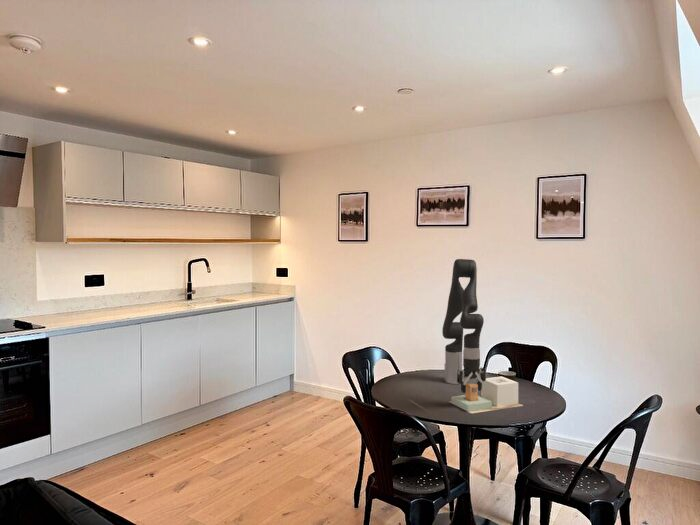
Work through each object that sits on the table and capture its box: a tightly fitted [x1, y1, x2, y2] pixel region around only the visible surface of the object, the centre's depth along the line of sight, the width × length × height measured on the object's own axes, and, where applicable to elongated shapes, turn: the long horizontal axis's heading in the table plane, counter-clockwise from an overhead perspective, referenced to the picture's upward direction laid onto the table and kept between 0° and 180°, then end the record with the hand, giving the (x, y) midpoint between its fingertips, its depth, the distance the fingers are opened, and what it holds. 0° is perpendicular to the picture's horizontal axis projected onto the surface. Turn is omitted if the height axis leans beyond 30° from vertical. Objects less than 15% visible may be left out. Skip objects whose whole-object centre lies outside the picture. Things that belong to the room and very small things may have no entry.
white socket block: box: [480, 376, 519, 407], centre depth 229 cm, size 12×12×10 cm
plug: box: [464, 382, 479, 402], centre depth 222 cm, size 5×4×10 cm
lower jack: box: [451, 394, 492, 413], centre depth 223 cm, size 13×13×3 cm
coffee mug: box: [493, 370, 517, 382], centre depth 247 cm, size 12×9×10 cm
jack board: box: [448, 400, 524, 414], centre depth 226 cm, size 18×29×1 cm, turn 112°
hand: (471, 391), depth 223 cm, fingers open, 8 cm apart
